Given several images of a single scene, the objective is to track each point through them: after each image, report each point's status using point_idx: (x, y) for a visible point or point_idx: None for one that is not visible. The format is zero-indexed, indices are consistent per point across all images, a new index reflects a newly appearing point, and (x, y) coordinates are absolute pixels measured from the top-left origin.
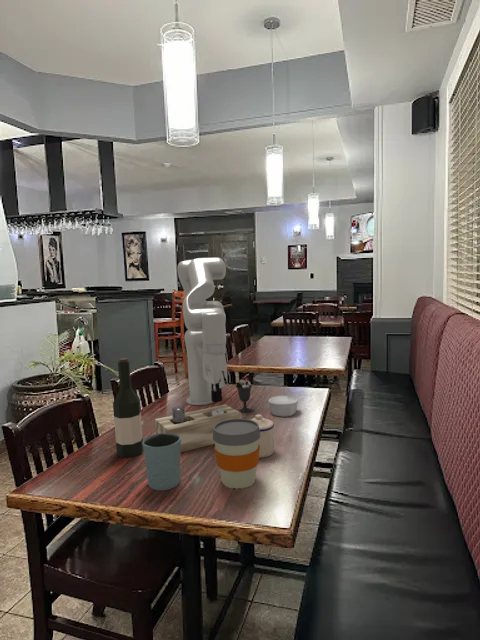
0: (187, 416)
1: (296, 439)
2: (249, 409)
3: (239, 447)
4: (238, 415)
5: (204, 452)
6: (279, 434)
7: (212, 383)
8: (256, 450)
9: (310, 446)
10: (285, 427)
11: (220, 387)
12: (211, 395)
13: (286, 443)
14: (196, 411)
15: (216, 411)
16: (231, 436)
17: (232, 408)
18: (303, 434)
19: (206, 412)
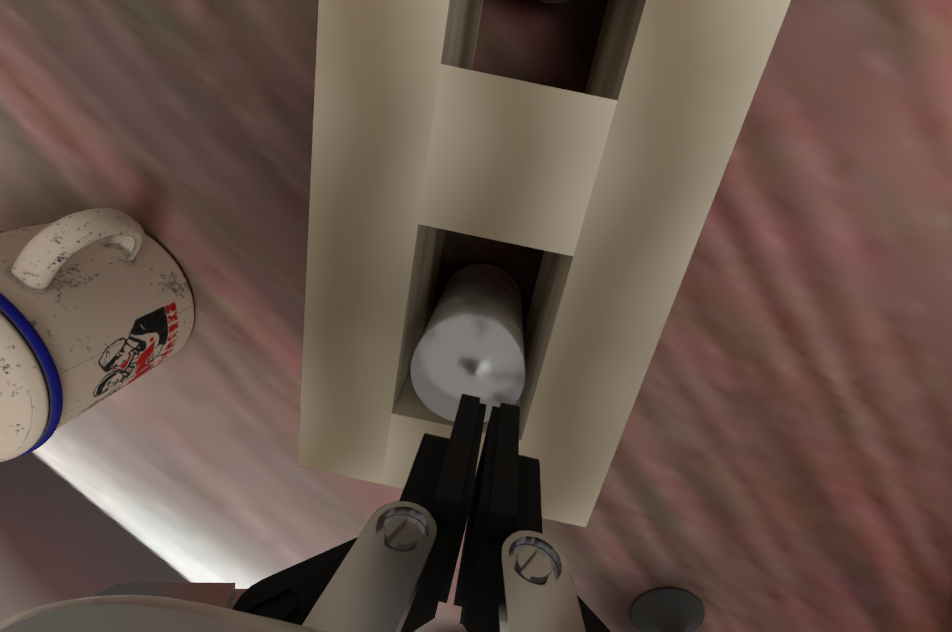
0: (625, 71)
1: (171, 497)
2: (647, 628)
3: None
4: (302, 433)
5: (298, 35)
6: (267, 495)
7: (160, 610)
8: None
9: (72, 479)
10: None
11: (159, 594)
12: (510, 451)
13: (153, 443)
14: (663, 246)
15: (464, 360)
16: None
17: None
18: (204, 549)
19: (558, 303)
